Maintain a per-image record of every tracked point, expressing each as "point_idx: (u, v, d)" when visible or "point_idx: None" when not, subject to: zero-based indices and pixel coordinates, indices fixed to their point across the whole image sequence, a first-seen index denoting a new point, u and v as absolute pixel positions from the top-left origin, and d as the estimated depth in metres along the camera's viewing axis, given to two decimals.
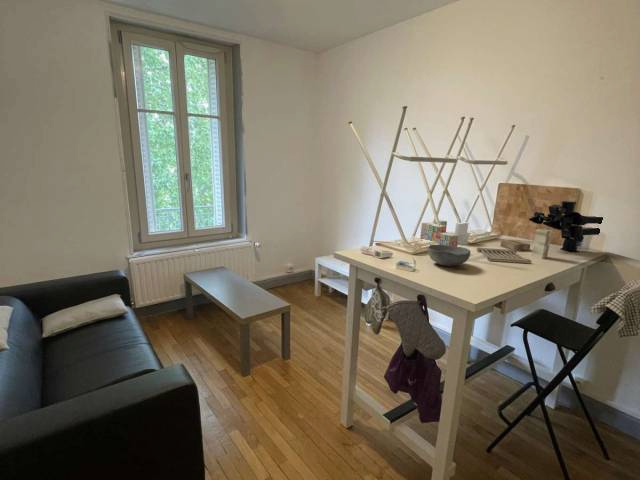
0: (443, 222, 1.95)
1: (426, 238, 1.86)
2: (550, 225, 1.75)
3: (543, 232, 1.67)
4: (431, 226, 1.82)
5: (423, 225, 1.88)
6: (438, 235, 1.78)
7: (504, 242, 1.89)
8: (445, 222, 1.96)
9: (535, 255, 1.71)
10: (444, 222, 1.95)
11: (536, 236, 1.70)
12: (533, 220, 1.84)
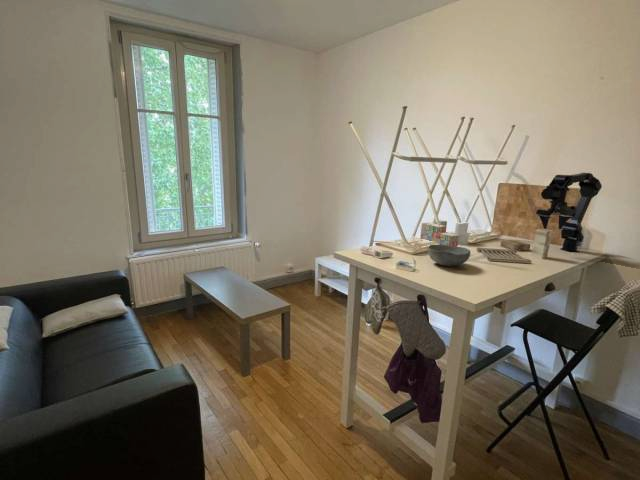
0: (443, 222, 1.95)
1: (426, 238, 1.86)
2: None
3: (543, 232, 1.67)
4: (431, 226, 1.82)
5: (423, 225, 1.87)
6: (439, 235, 1.77)
7: (504, 242, 1.89)
8: (445, 222, 1.96)
9: (535, 255, 1.71)
10: (444, 222, 1.95)
11: (536, 236, 1.70)
12: None
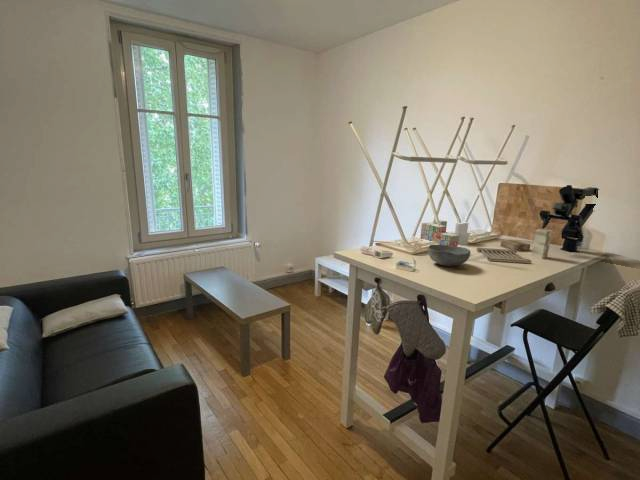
0: (443, 222, 1.95)
1: (426, 238, 1.85)
2: (568, 228, 1.69)
3: (543, 232, 1.67)
4: (431, 226, 1.82)
5: (423, 225, 1.87)
6: (439, 235, 1.77)
7: (504, 242, 1.89)
8: (445, 222, 1.96)
9: (535, 255, 1.71)
10: (444, 222, 1.95)
11: (536, 236, 1.70)
12: (545, 225, 1.78)
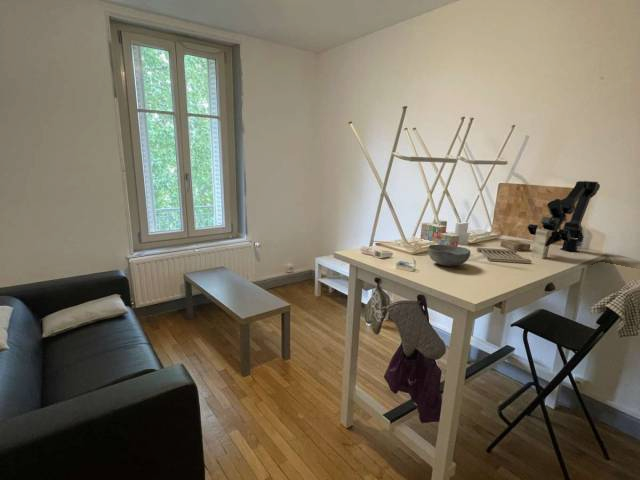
0: (443, 222, 1.95)
1: (426, 238, 1.85)
2: (552, 242, 1.68)
3: (543, 232, 1.67)
4: (431, 226, 1.81)
5: (423, 225, 1.87)
6: (439, 235, 1.77)
7: (504, 242, 1.89)
8: (445, 222, 1.96)
9: (535, 255, 1.71)
10: (444, 222, 1.95)
11: (536, 236, 1.70)
12: None
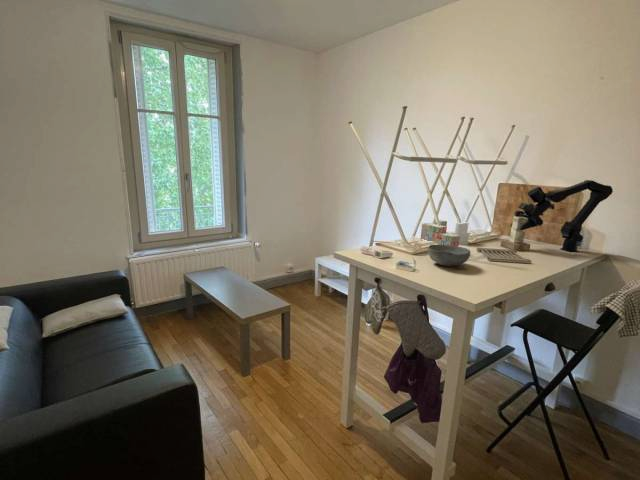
0: (443, 222, 1.95)
1: (427, 239, 1.84)
2: (528, 227, 1.79)
3: (516, 218, 1.83)
4: (432, 227, 1.80)
5: (423, 226, 1.86)
6: (439, 235, 1.76)
7: (504, 242, 1.89)
8: (445, 222, 1.96)
9: (511, 240, 1.88)
10: (444, 222, 1.95)
11: (513, 222, 1.87)
12: None
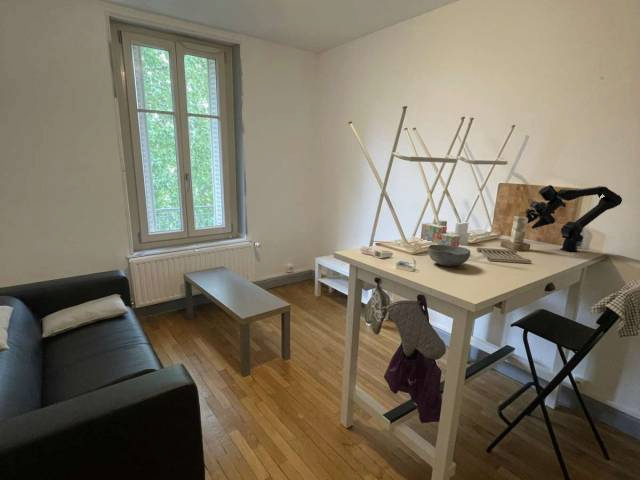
0: (443, 222, 1.95)
1: (427, 239, 1.84)
2: (540, 225, 1.79)
3: (517, 218, 1.83)
4: (432, 227, 1.80)
5: (423, 226, 1.85)
6: (440, 235, 1.76)
7: (504, 242, 1.89)
8: (445, 222, 1.96)
9: (511, 239, 1.88)
10: (444, 222, 1.95)
11: (513, 222, 1.87)
12: None
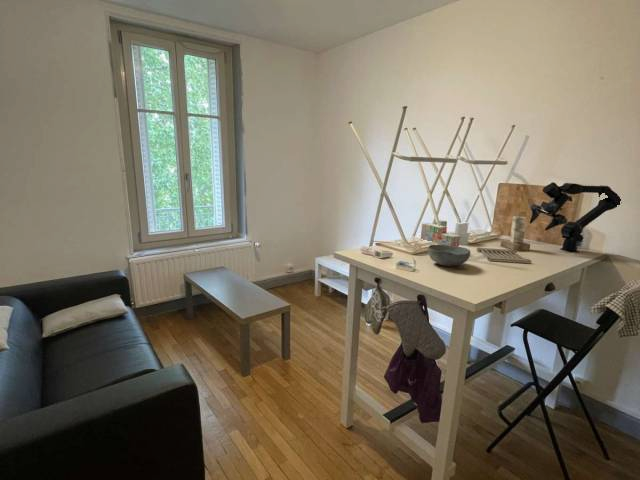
0: (443, 222, 1.95)
1: (427, 239, 1.84)
2: (552, 226, 1.79)
3: (514, 218, 1.84)
4: (432, 227, 1.80)
5: (423, 226, 1.85)
6: (440, 235, 1.75)
7: (504, 242, 1.89)
8: (445, 222, 1.96)
9: (511, 240, 1.88)
10: (444, 222, 1.95)
11: (512, 222, 1.87)
12: (533, 219, 1.88)
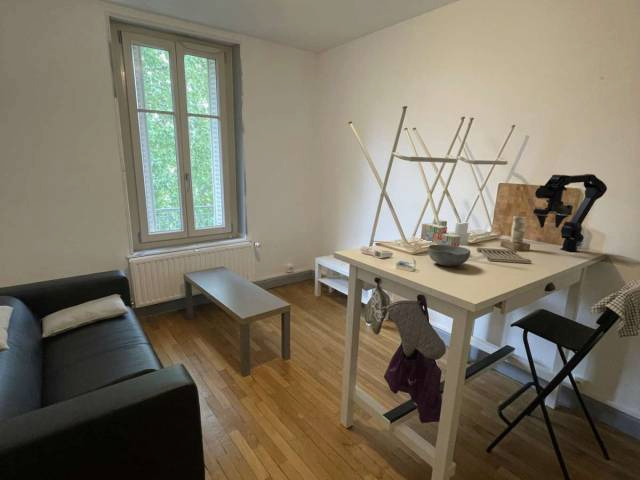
0: (443, 222, 1.95)
1: (427, 239, 1.83)
2: None
3: (514, 218, 1.84)
4: (432, 227, 1.79)
5: (424, 226, 1.85)
6: (440, 236, 1.75)
7: (504, 242, 1.89)
8: (445, 222, 1.96)
9: (510, 239, 1.88)
10: (444, 222, 1.95)
11: None
12: None
